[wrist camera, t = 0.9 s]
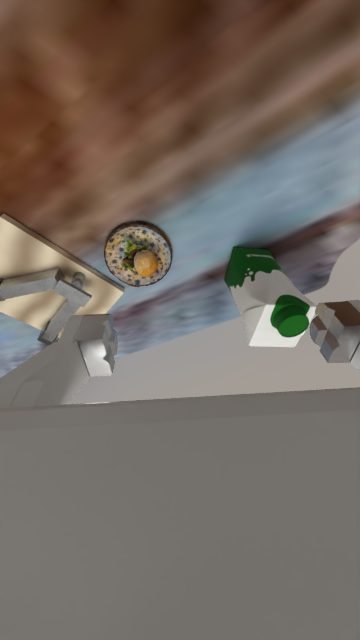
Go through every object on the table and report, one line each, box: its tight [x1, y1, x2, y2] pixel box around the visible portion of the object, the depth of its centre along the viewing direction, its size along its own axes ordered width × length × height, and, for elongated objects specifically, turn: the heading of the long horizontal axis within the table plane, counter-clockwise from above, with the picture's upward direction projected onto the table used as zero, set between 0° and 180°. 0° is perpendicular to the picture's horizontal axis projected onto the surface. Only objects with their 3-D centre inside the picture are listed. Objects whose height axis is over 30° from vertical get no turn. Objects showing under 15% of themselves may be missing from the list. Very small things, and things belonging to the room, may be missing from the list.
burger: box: [104, 221, 172, 287], centre depth 45 cm, size 12×12×8 cm
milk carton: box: [224, 247, 317, 347], centre depth 43 cm, size 9×9×20 cm
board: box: [0, 214, 124, 338], centre depth 49 cm, size 22×18×2 cm
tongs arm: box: [0, 268, 65, 301], centre depth 45 cm, size 13×3×3 cm, turn 100°
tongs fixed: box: [38, 272, 92, 345], centre depth 49 cm, size 16×6×5 cm, turn 138°
